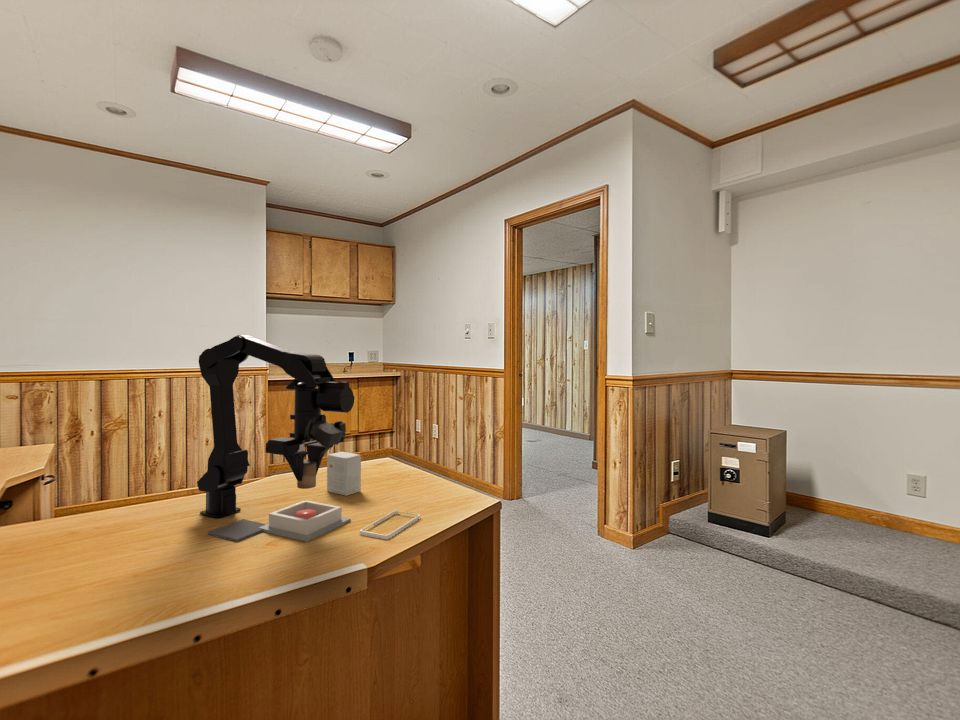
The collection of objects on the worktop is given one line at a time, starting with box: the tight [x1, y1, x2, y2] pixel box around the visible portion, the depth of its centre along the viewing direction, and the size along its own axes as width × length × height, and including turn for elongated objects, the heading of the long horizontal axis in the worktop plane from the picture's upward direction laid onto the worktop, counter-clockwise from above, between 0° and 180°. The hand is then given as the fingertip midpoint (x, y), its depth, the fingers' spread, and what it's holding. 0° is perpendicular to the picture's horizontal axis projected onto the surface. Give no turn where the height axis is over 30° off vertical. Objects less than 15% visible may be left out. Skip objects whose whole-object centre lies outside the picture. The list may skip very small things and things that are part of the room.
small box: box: [326, 451, 362, 496], centre depth 137 cm, size 8×6×10 cm
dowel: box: [296, 459, 317, 490], centre depth 110 cm, size 4×4×6 cm
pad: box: [207, 518, 267, 543], centre depth 106 cm, size 9×9×1 cm
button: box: [296, 509, 316, 520], centre depth 110 cm, size 4×4×1 cm
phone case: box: [359, 510, 421, 540], centre depth 111 cm, size 7×1×15 cm
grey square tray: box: [258, 499, 351, 543], centre depth 110 cm, size 14×14×4 cm
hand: (306, 478), depth 110 cm, fingers closed on dowel, 4 cm apart
